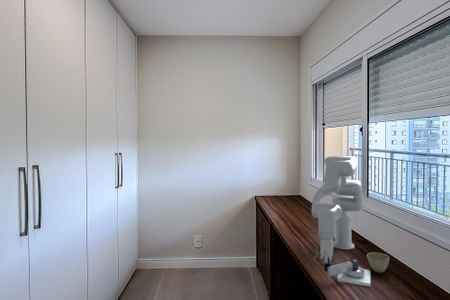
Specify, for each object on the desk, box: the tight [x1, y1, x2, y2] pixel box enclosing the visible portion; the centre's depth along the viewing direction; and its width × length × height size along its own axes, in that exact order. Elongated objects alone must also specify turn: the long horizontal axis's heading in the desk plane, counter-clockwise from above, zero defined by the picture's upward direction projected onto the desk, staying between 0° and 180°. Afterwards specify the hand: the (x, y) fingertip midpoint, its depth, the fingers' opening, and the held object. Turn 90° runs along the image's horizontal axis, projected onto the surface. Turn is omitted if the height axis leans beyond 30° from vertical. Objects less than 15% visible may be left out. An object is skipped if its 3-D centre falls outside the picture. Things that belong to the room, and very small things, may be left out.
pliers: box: [312, 247, 320, 263], centre depth 165 cm, size 10×1×20 cm
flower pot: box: [366, 252, 390, 273], centre depth 144 cm, size 10×10×7 cm
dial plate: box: [336, 268, 371, 287], centre depth 138 cm, size 14×14×2 cm
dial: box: [327, 258, 365, 278], centre depth 137 cm, size 20×9×6 cm, turn 110°
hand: (328, 271), depth 137 cm, fingers closed
